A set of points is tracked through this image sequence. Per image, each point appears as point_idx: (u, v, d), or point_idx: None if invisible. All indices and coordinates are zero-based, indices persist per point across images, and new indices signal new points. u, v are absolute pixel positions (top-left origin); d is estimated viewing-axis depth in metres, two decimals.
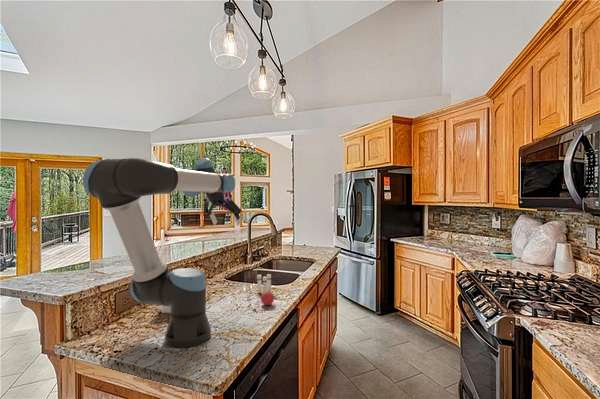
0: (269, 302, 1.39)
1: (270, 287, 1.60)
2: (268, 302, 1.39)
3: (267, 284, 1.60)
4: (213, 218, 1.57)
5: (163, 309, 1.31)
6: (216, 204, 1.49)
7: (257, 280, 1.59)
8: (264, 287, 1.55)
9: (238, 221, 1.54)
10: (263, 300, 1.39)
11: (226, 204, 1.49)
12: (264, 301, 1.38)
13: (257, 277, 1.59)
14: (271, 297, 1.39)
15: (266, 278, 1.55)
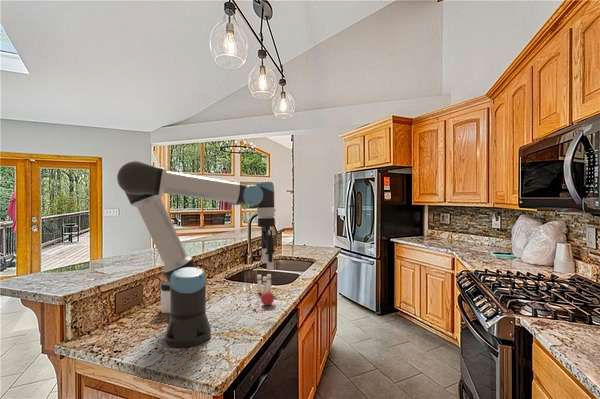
0: (269, 302, 1.39)
1: (270, 287, 1.60)
2: (268, 302, 1.39)
3: (267, 284, 1.60)
4: (264, 254, 1.40)
5: (163, 309, 1.31)
6: None
7: (257, 280, 1.59)
8: (264, 287, 1.55)
9: (269, 265, 1.27)
10: (263, 300, 1.39)
11: None
12: (264, 301, 1.38)
13: (257, 277, 1.59)
14: (271, 297, 1.39)
15: (266, 278, 1.55)
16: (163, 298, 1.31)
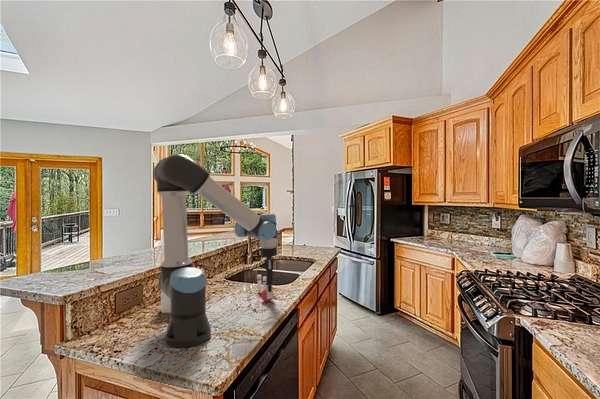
0: None
1: None
2: None
3: None
4: None
5: (163, 309, 1.31)
6: None
7: (257, 280, 1.59)
8: (264, 287, 1.55)
9: (269, 294, 1.42)
10: (263, 291, 1.45)
11: None
12: (264, 291, 1.44)
13: (257, 277, 1.59)
14: None
15: None
16: (163, 298, 1.31)
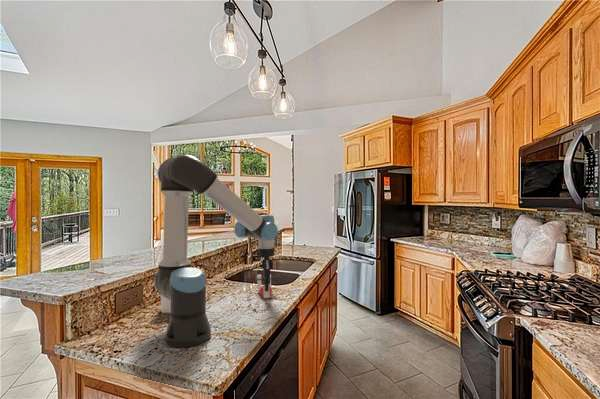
0: None
1: None
2: None
3: None
4: None
5: (163, 309, 1.31)
6: None
7: (257, 280, 1.59)
8: None
9: (266, 293, 1.45)
10: None
11: None
12: None
13: (257, 277, 1.59)
14: None
15: None
16: (163, 298, 1.31)
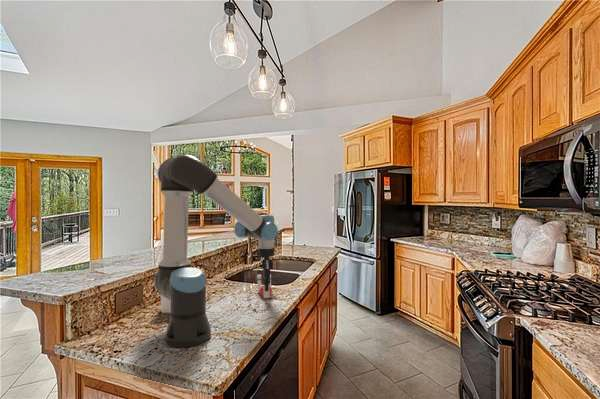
0: None
1: None
2: None
3: None
4: None
5: (163, 309, 1.31)
6: None
7: (257, 280, 1.59)
8: None
9: (266, 293, 1.45)
10: None
11: None
12: None
13: (257, 277, 1.59)
14: None
15: None
16: (163, 298, 1.31)
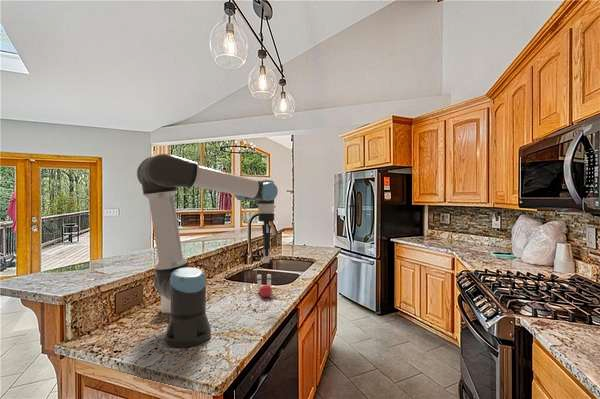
0: None
1: None
2: None
3: (267, 284, 1.60)
4: None
5: (163, 309, 1.31)
6: None
7: (257, 280, 1.59)
8: None
9: (266, 258, 1.45)
10: None
11: None
12: None
13: (257, 277, 1.59)
14: None
15: None
16: (163, 298, 1.31)
